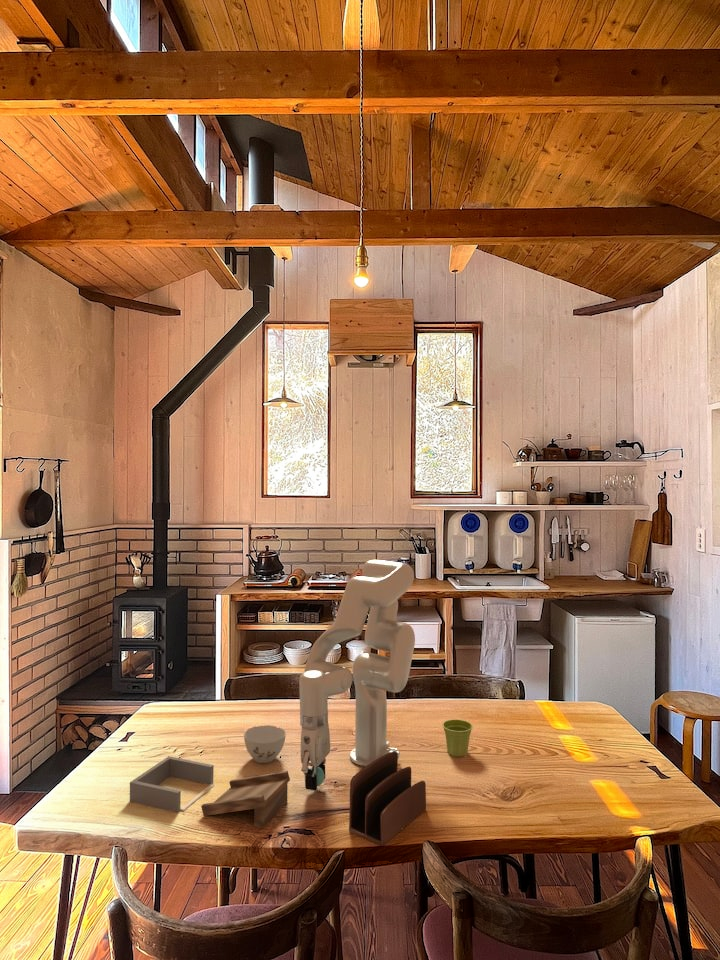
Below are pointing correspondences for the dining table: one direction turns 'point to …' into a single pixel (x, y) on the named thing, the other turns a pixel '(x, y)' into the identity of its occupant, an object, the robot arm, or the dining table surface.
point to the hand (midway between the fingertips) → (315, 783)
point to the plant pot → (457, 736)
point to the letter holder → (384, 799)
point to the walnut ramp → (253, 797)
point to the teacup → (264, 742)
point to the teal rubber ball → (319, 775)
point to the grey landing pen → (167, 798)
